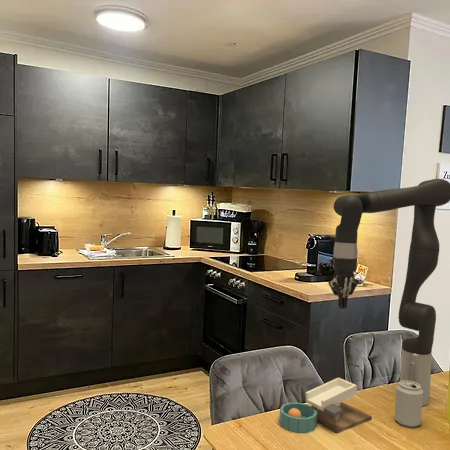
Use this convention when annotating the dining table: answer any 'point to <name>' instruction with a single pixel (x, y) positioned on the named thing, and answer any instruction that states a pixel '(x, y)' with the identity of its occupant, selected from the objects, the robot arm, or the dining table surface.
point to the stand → (342, 418)
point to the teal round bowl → (298, 424)
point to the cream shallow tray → (331, 395)
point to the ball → (294, 413)
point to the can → (408, 403)
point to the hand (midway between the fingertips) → (342, 308)
